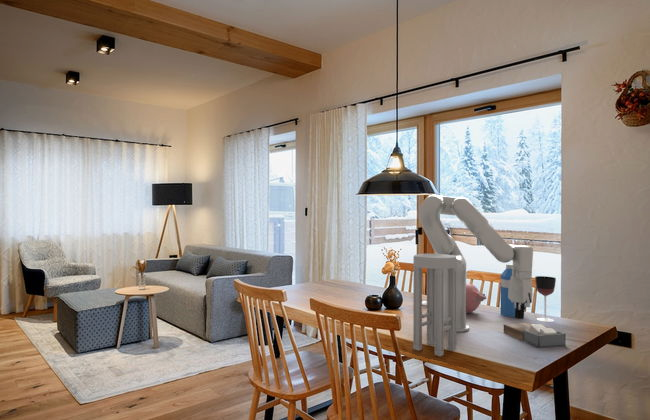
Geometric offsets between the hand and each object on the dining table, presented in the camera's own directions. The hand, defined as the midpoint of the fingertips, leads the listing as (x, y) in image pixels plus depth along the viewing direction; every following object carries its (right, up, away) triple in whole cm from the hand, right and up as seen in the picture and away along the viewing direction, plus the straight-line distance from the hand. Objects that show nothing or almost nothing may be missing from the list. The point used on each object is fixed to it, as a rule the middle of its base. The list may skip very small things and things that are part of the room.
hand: (519, 318), depth 182 cm
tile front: (+4, -3, -13) cm, 14 cm away
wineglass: (+23, -7, +24) cm, 34 cm away
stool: (-40, -7, -20) cm, 46 cm away
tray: (+4, -7, -13) cm, 15 cm away
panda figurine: (-23, -7, +58) cm, 63 cm away
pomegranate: (-10, -7, +36) cm, 38 cm away
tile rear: (+3, -4, -10) cm, 11 cm away
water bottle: (+11, -7, +33) cm, 36 cm away
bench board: (+2, -7, -2) cm, 7 cm away
